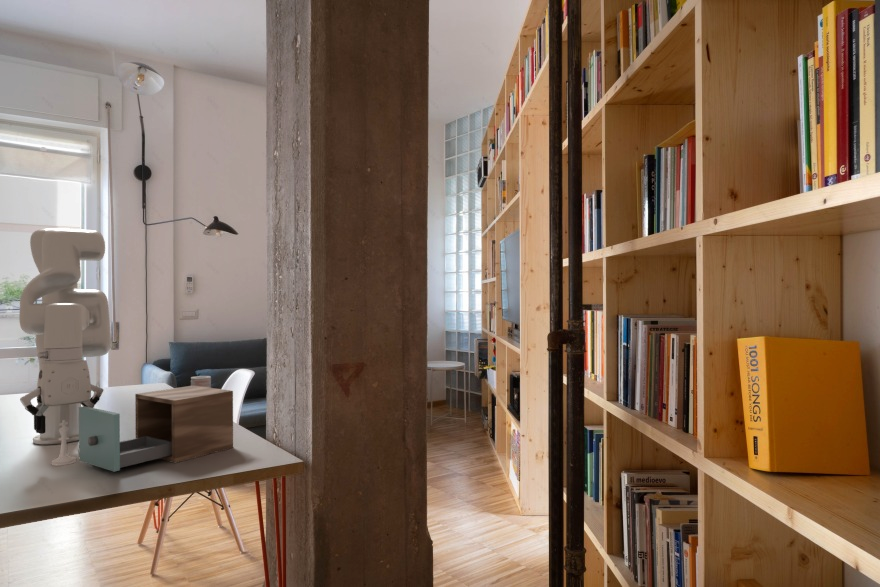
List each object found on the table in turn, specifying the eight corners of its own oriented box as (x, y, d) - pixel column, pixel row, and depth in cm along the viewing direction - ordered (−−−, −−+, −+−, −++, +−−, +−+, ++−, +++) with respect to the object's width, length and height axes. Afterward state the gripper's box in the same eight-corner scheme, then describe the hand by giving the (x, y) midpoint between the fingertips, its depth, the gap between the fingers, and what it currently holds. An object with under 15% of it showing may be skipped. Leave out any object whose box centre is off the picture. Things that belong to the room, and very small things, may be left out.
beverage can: (215, 426, 173) (215, 376, 173) (198, 429, 168) (198, 378, 168) (203, 423, 176) (203, 374, 176) (187, 427, 171) (186, 377, 171)
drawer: (73, 461, 132) (73, 407, 132) (143, 446, 145) (142, 397, 145) (108, 473, 123) (108, 415, 123) (179, 455, 137) (178, 403, 137)
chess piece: (81, 461, 137) (80, 418, 137) (59, 466, 132) (59, 423, 132) (67, 458, 139) (67, 417, 139) (46, 464, 134) (46, 421, 135)
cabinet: (135, 452, 144) (135, 393, 144) (193, 438, 158) (193, 385, 158) (174, 462, 135) (174, 400, 135) (233, 447, 148) (232, 390, 148)
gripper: (28, 359, 126) (28, 437, 126) (109, 353, 141) (110, 423, 140) (13, 358, 130) (13, 434, 130) (94, 352, 145) (94, 421, 144)
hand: (63, 429), depth 135 cm, fingers open, 9 cm apart
